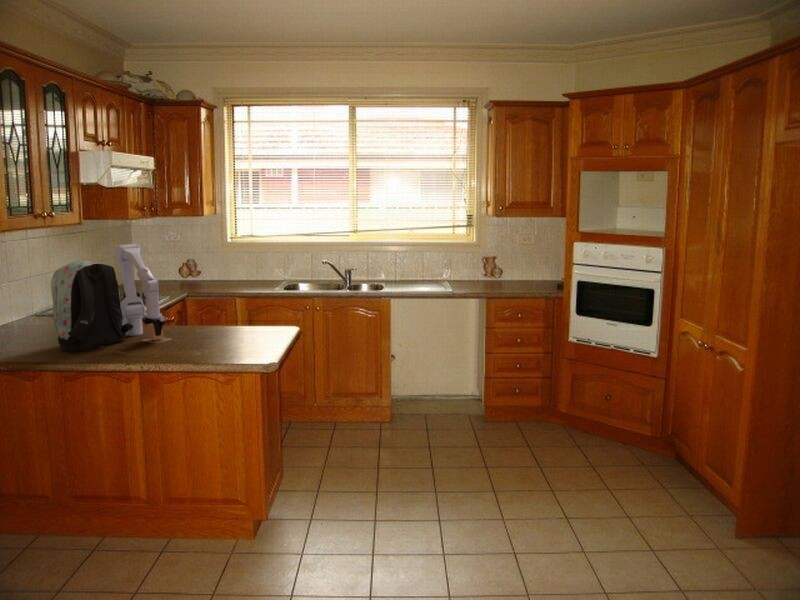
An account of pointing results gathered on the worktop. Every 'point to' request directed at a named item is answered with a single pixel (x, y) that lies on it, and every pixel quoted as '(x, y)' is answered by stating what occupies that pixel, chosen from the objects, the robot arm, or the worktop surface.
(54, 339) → the worktop surface
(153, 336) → the pink rectangular block
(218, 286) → the worktop surface
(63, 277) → the backpack
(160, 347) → the worktop surface
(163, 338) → the board
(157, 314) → the robot arm
